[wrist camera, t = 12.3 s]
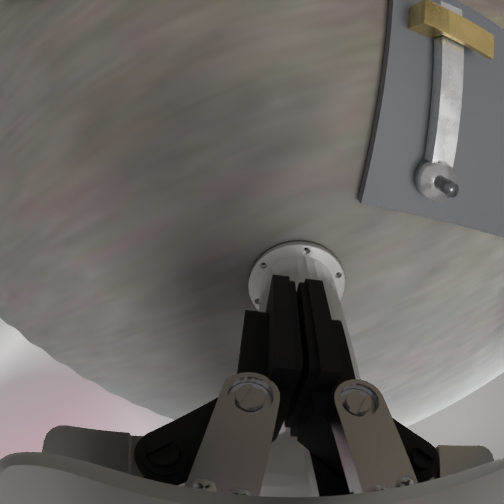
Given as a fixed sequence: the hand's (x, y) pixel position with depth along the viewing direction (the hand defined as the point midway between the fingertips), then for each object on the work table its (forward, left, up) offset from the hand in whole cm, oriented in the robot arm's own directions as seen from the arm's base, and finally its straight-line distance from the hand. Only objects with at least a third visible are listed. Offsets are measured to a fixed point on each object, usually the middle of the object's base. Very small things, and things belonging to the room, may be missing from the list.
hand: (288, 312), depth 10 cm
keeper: (+20, -17, -24) cm, 35 cm away
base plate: (+12, -26, -25) cm, 38 cm away
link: (+12, -17, -23) cm, 31 cm away
